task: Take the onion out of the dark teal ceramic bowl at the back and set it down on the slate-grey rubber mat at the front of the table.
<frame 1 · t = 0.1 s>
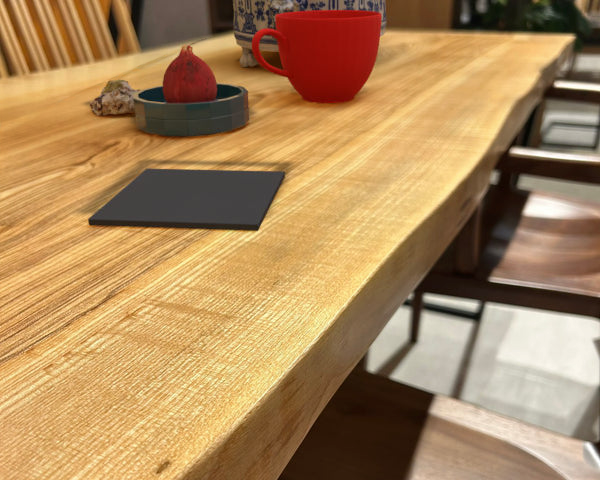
teal bowl: (193, 125, 71), on the table
mineral rock: (125, 110, 79), on the table
onion: (193, 124, 71), resting on teal bowl
ceramic cup: (315, 102, 82), on the table
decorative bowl: (310, 59, 115), on the table
mat: (195, 199, 49), on the table
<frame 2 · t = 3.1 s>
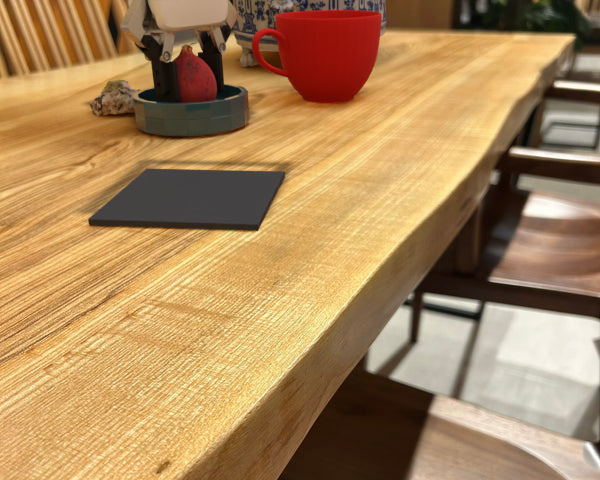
hand: (190, 94, 69), 3 cm above the table, tool pointing down, fingers closed on onion, 5 cm apart
onion: (193, 124, 71), resting on teal bowl, touching gripper
everything else where it was.
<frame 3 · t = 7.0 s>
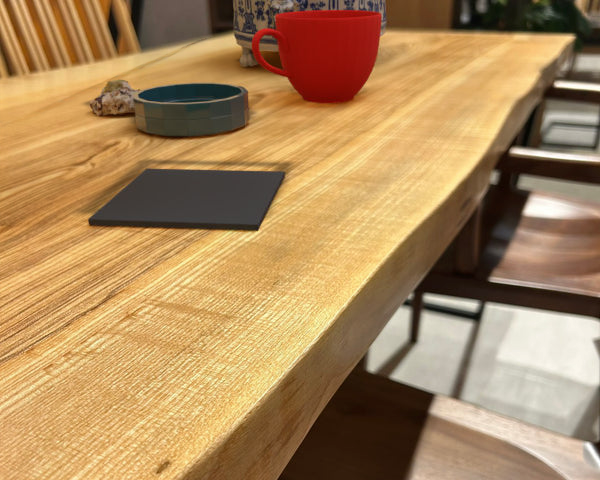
when the fingers open (3 cm above the table, at t = 11.1 s): onion stays where it is, resting on mat.
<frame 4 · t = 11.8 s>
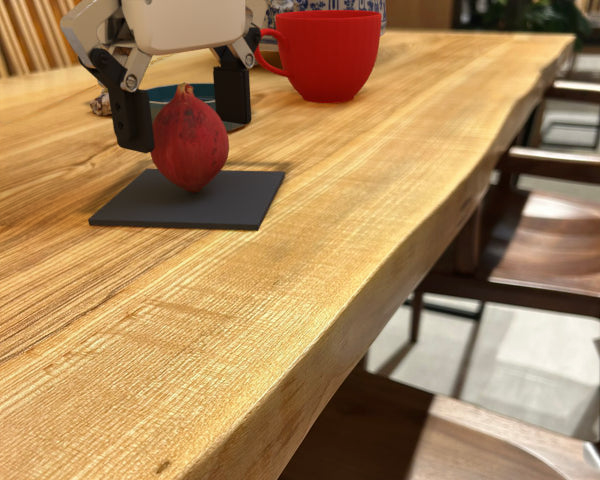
hand: (188, 134, 47), 5 cm above the table, tool pointing down, fingers open, 9 cm apart
onion: (194, 195, 49), resting on mat
everything else where it was.
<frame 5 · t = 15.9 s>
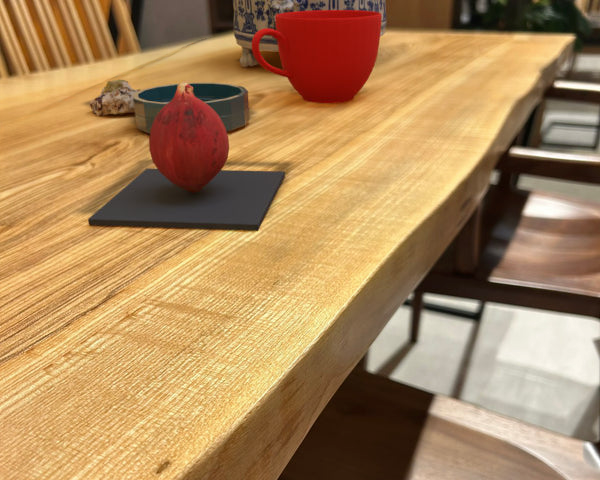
nothing on the table moved.
at the end: onion inside the target area on the mat (0.1 cm from its centre), point 0.3 cm above the mat's base; onion touching mat; the gripper is holding nothing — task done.
